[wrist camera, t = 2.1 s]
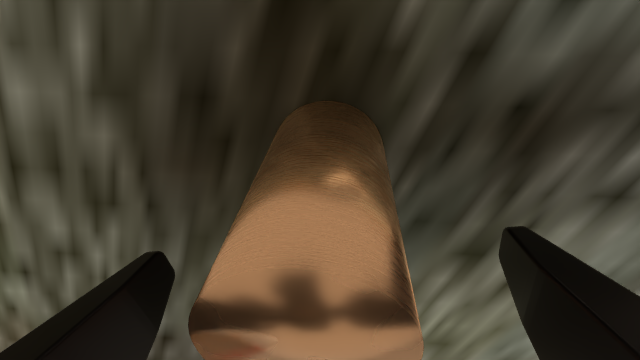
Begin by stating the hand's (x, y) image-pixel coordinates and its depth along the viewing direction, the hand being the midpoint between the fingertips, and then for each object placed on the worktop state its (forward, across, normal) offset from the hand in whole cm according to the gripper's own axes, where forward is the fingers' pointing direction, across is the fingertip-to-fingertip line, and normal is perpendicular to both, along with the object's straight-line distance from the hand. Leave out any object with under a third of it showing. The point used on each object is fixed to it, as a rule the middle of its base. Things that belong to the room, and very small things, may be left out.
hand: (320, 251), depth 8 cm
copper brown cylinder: (+5, 0, 0) cm, 5 cm away
